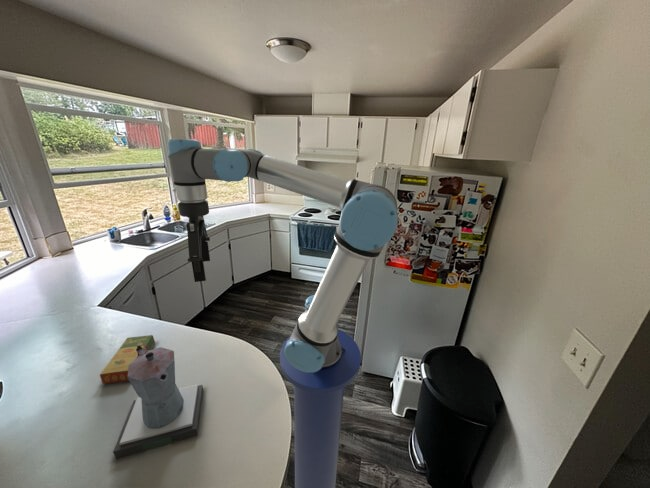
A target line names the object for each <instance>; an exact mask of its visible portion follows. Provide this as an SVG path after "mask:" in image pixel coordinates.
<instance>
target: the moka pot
mask: <svg viewBox="0 0 650 488" xmlns="http://www.w3.org/2000/svg"><path fill="white" fill-rule="evenodd" d="M136 351H137V354H138V357H137V358H136V359H135V360H134V361H133V362H132V363H130V364H129V367H128V380H129V381H128V382H129V383H130V385H131V387H132V388H133V390H134V392H135V393H136V395H137V396H138V398H141V399H142V400H141V401H142V415H143V422H144V424H145V425H146V426H147V427H148V428H155V429H156V428H157V429H158V428H161V427H164V426H166V425H168V424H170V423H171V422H173V421H174V420H175V419H176V418H177V417H178V416H179V414H180V413H181V411H182V409H183V403H184V400H183V397H182V396H181V393H180V392H179V390H178V389H179V388H178V385H177V384H176V365H175V364H176V361H175V351H174V350H173V349H169V348H165V347H163V346H162V347H157V348H152V349H151V350H150V351H147V350H146V349H145V348H144V349H143V348H142V347H141V346H140V345H139V346H137V349H136Z"/></svg>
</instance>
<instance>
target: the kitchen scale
mask: <svg viewBox="0 0 650 488" xmlns="http://www.w3.org/2000/svg"><path fill="white" fill-rule="evenodd" d="M178 390H179V392H180V393H181V396H182V397H183V400H184V403H183V409H182V411H181V413H180V414H179V416H178V417H177V418H176V419H175V420H174V421H173V422H171V423H170V424H168V425H166V426H164V427H161V428H158V429H157V428H156V429H155V428H148V427H147V426H146V425H145V424H144V422H143V415H142V401H141V400H142V399H141V397H137V398H136V399H134V400H133V402H132V404H131V405H130V409H129V411H128V413H127V416H126V419H125V422H124V424H123V426H122V429H121V431H120V435H119V436H118V439H117V441H116V444H115V446H114V449H113V451H112V453H113V455H114V458H115V460H118V459H121V458H124V457H127V456H130V455H134V454H139V453H142V452H145V451H148V450H152V449H155V448H159V447H162V446H165V445H169V444H173V443H175V442H176V443H177V442H180V441H182V440H186V439H189V438H194V437H197V436H199V430H200V429H199V428H200V421H201V420H200V419H201V414H202V413H201V412H202V406H203V405H202V404H203V398H204V385H203V384H194V385H193V384H192V385H189V386H184V387H180V388H178Z"/></svg>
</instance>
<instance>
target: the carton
mask: <svg viewBox="0 0 650 488" xmlns="http://www.w3.org/2000/svg"><path fill="white" fill-rule="evenodd" d="M139 345H140V346H141V347H142V348H143V349H144V348H145V349H146V350H147V351H150V350H153V349H154V346H155V345H156V341H155V338H154V335H153V334H149V335H140V336H130V337H126V339H125V340H124V341H123V343H122V344H121V346H120V347H119V348H118V349H117V351H116V352H115V353H114V355H113V356H112V357H111V359H110V360H109V362H108V363H107V364H106V366H105V367H104V368H103V370H102V371H101V372H100V373H99V377H100V380H101V383H102V385H106V384H116V383H121V382H130V381H129V380H128V367H129V364H130V363H132V362H133V361H134V360H135V359H136V358H137V357H138V354H137V351H136V349H137V346H139Z"/></svg>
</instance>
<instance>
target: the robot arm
mask: <svg viewBox="0 0 650 488" xmlns="http://www.w3.org/2000/svg"><path fill="white" fill-rule="evenodd" d="M167 153H168V161H169V164H170V169H171V175H172V181H173V185H174V187H173V188H172V192H174V193H175V196H176V200H177V203H176V204H177V211H178V214H179V216H180V217H184V218H187V219H188V222H187V223H186V232H187V247H188V258H187V262H189V263H191V267H192V273H193V280H194V282H195V283H198V282H199V283H201V282H206V281H207V278H206V271H205V270H206V269H205V265H204V262H210V261H211V257H210V248H209V243H208V242H210V241H211V238H210V237H208V236H209V234H208V232H207V227H206V222H205V218H204V217H205V216H207V215H209V213H210V205H209V201H208V200H207V199H208V189H207V183H206V180H211V181H220V182H221V181H222V182H226V183H230V182H241V181H243V180H244V178H251V179H252V180H256V181H259V182H263V183H266V184H269V185H271V186H275V187H279V188H280V189H282V190H283V189H284V190H287V191H289V192H293V193H295V194H298V195H301V196H304V197H307V198H310V199H313V200H316V201H318V202H322V203H324V204H327V205H331V206H334V207H337V208H339V210H340V211H341V213H340V217H339V223H338V226H337V228H336V230H335V232H334V235H333V238H334V240H335V243H336V245H335V249H334V250H333V253H332V255H331V257H330V260H329V262H328V264H327V267H326V269H325V271H324V273H323V276H322V278H321V280H320V282H319V285H318V287H317V289H316V292H315V294H313V295H310V296H308V297H307V298H306V299H305V303H304V312H302V313H301V314H300V315H299V317H298V320H297V322H296V324H295V327H294V329H293V331H292V333H291V335H290V336H291V337H290V336H289V337H290V339H289V341H287V343H286V346H285V349H284V353H285V357H286V359H287V360H288V362H289V363H290V364H291V365H292V366H293V367H295V368H296V369H298V370H300V371H303V372H308V373H309V372H317V371H318V370H320V369H328V368H331V367H333V366H335V365H336V364H337V363H338V362H339V360H340V358H341V351H342V350H343V351H345V349H343V348H342V347H341V345H340V342H339V339H338V330H339V323H340V322H339V321H340V317H341V316H342V313H343V312H344V310H345V308H346V306H347V304H348V302H349V300H350V298H351V296H352V294H353V293H354V290H355V289H356V286H357V284H358V283H359V280H361V279H360V278H361V277H362V275H363V273H364V271H365V270H366V268H367V266H368V263H369V261H370V260H374V259H377V258H379V256H380V254H381V252H382V251H383V249H384V247H385V245H386V244H387V243H388V242H389V241H390V240H391V239H392V238H393V236H394V234H395V232H396V231H397V228H398V223H399V213H398V203H397V198H396V197H395V196H394V195H395V194H393V192H392V191H391V190H390V189H388V188H387V187H385V186H382V185H380V184H375V183H370V182H366V181H362V180H358V179H355V178H352V179H350V180H345V179H342V178H339V177H336V176H333V175H330V174H326V173H323V172H320V171H317V170H314V169H311V168H309V167H308V168H307V167H304V166H301V165H299V164H295V163H292V162H288V161H286V160H282V159H279V158H277V157H273V156H270V155H268V154H267V155H266V154H264V153H263V152H261V151H260V150H257V149H252V148H248V149H233V148H203V147H202V145H201V142H200V141H199V140H198V139H189V138H188V139H186V138H170V139H168V140H167Z"/></svg>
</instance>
